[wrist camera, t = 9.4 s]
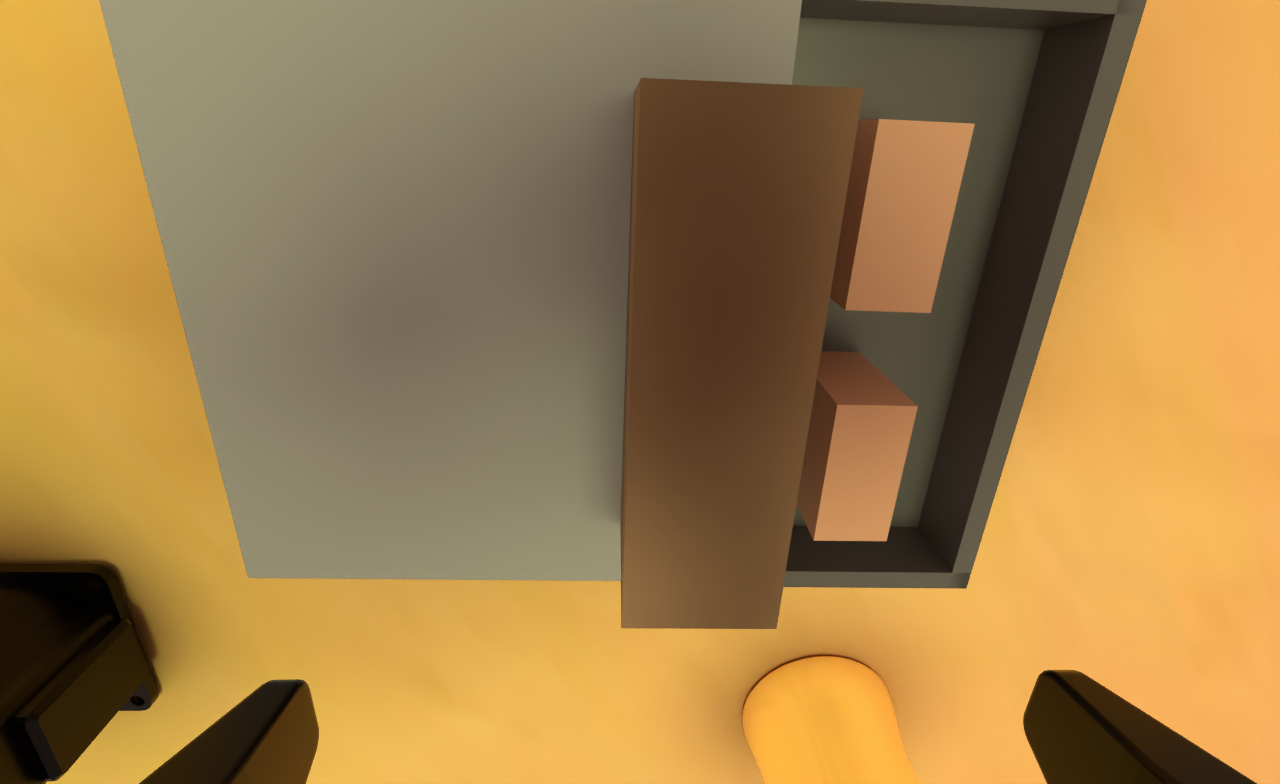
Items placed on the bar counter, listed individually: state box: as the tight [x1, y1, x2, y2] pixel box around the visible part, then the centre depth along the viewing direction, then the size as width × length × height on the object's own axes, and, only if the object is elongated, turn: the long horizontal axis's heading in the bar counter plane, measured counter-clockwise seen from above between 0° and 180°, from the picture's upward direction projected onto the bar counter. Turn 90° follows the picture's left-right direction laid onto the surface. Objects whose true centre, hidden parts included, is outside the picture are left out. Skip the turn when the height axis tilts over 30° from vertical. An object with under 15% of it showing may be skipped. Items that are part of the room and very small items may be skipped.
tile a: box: [796, 351, 918, 541], centre depth 18 cm, size 4×4×2 cm
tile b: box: [830, 119, 975, 313], centre depth 15 cm, size 4×4×2 cm
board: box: [100, 0, 802, 581], centre depth 17 cm, size 14×15×4 cm
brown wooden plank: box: [620, 78, 864, 629], centre depth 14 cm, size 4×11×4 cm, turn 178°
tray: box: [783, 0, 1147, 588], centre depth 18 cm, size 8×16×3 cm, turn 178°
